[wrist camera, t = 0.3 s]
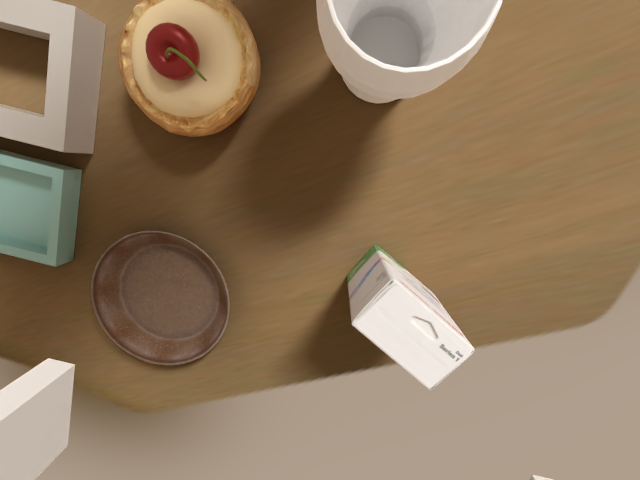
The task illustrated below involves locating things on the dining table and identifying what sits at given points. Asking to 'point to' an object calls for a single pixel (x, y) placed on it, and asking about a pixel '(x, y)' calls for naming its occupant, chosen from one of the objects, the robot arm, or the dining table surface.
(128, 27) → the pastry
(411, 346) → the ink box
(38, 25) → the white hook bar
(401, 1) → the cup
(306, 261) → the dining table surface
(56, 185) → the trough
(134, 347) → the saucer
